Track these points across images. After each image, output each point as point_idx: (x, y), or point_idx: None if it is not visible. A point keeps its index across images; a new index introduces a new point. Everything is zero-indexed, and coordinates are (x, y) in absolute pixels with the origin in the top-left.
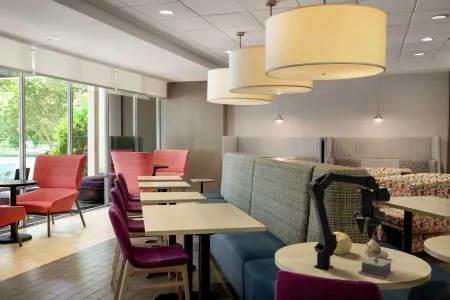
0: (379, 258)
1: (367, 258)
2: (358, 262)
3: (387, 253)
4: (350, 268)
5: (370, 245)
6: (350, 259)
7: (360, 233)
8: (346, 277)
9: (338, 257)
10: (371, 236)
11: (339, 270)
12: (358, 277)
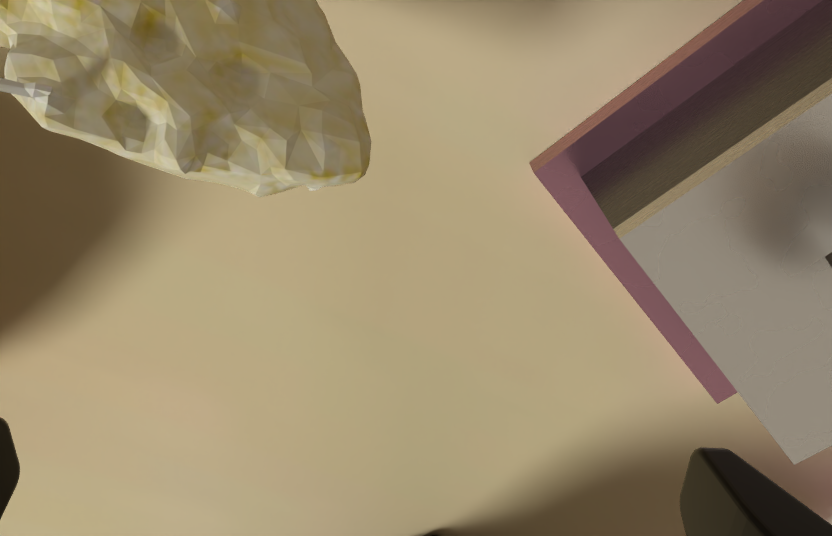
0: (782, 133)
1: (708, 338)
2: None
3: None
4: (504, 390)
5: (78, 3)
6: (121, 241)
7: (11, 486)
8: None
9: (42, 352)
10: (786, 516)
11: (548, 512)
12: None
